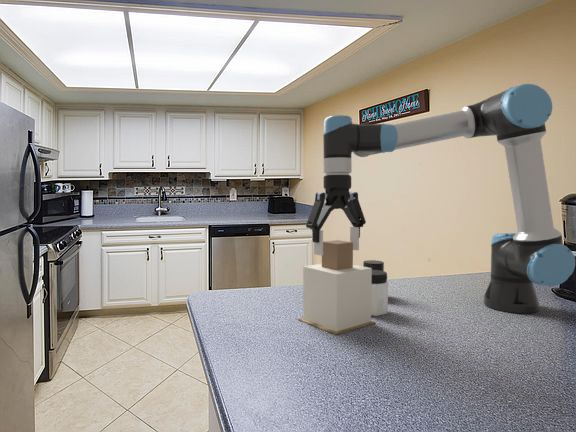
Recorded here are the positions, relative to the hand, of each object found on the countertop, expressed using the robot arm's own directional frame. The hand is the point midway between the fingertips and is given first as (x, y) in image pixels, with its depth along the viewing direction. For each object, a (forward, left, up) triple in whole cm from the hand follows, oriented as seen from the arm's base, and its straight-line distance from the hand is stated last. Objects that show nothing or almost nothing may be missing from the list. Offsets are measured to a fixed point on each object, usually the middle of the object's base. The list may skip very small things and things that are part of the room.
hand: (337, 252), depth 113 cm
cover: (0, 0, -19) cm, 19 cm away
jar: (0, -15, -20) cm, 25 cm away
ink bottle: (+12, -28, -20) cm, 36 cm away
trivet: (0, 0, -19) cm, 19 cm away
